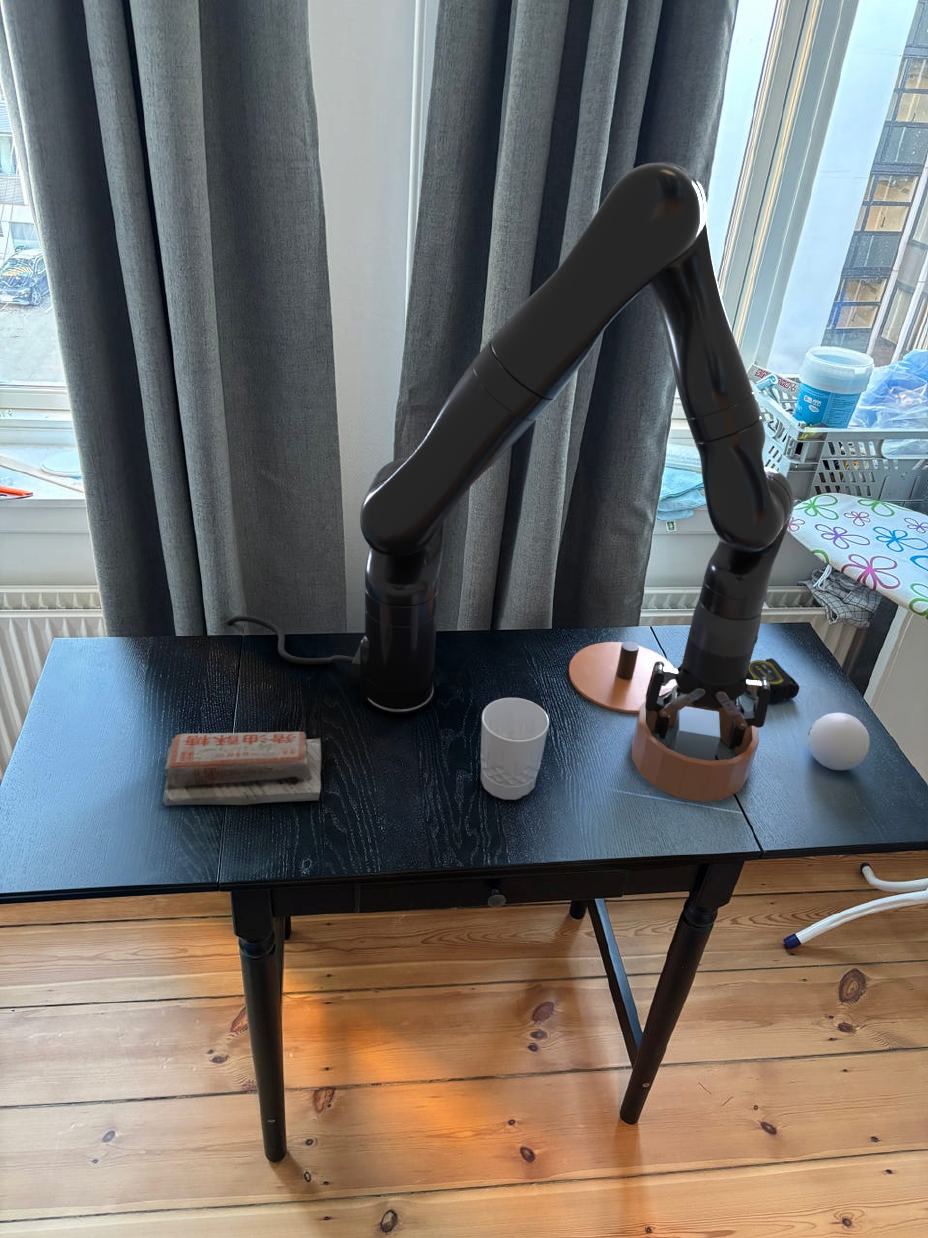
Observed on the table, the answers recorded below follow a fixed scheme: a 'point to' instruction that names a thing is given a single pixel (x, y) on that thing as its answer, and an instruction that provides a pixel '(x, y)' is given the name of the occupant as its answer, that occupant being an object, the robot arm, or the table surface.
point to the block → (696, 733)
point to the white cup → (512, 746)
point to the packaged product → (242, 768)
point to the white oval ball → (838, 741)
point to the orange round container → (691, 760)
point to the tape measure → (773, 679)
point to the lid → (615, 674)
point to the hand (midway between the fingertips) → (696, 740)
